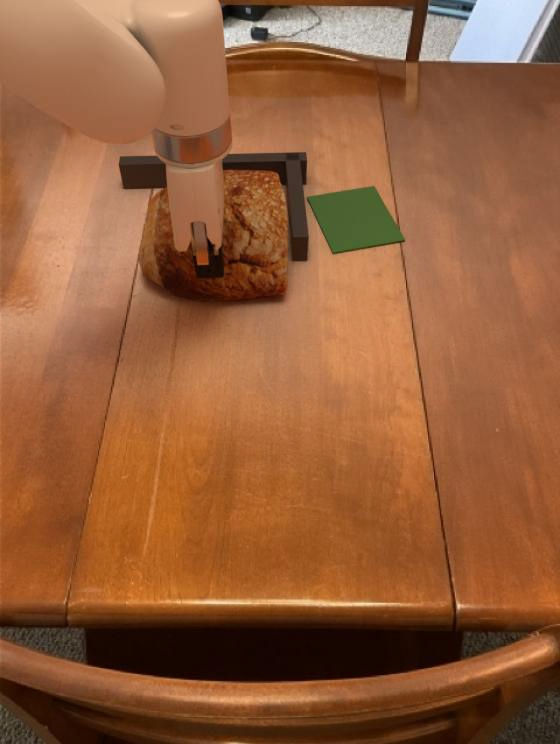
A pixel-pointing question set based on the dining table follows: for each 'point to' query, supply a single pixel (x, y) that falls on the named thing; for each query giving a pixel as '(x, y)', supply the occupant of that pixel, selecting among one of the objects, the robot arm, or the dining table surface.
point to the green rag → (354, 219)
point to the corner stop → (284, 164)
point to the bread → (225, 242)
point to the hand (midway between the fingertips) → (210, 273)
